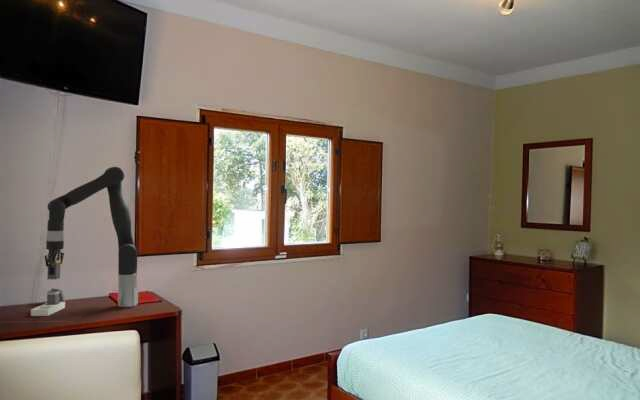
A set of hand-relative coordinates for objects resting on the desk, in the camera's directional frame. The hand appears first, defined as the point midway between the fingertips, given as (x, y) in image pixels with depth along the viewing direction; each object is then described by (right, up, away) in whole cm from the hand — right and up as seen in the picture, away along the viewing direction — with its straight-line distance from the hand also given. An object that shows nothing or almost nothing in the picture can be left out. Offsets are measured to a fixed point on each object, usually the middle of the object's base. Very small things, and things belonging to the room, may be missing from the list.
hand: (53, 274), depth 223 cm
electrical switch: (-10, -20, +20) cm, 30 cm away
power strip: (-4, -20, +2) cm, 21 cm away
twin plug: (-4, -19, +6) cm, 21 cm away
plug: (0, -2, 0) cm, 2 cm away
